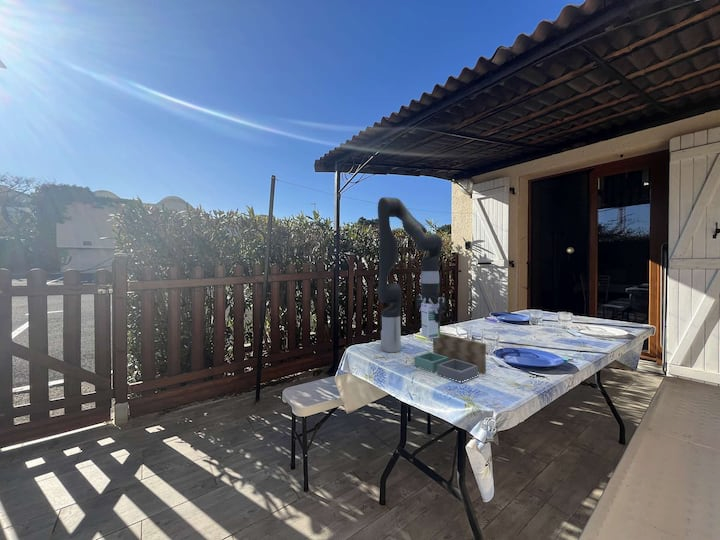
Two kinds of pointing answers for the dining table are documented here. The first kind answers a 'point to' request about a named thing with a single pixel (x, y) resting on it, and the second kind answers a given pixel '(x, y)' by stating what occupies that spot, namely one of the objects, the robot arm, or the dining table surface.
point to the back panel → (461, 350)
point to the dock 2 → (450, 372)
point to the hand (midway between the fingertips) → (430, 320)
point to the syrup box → (429, 321)
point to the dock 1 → (429, 361)
